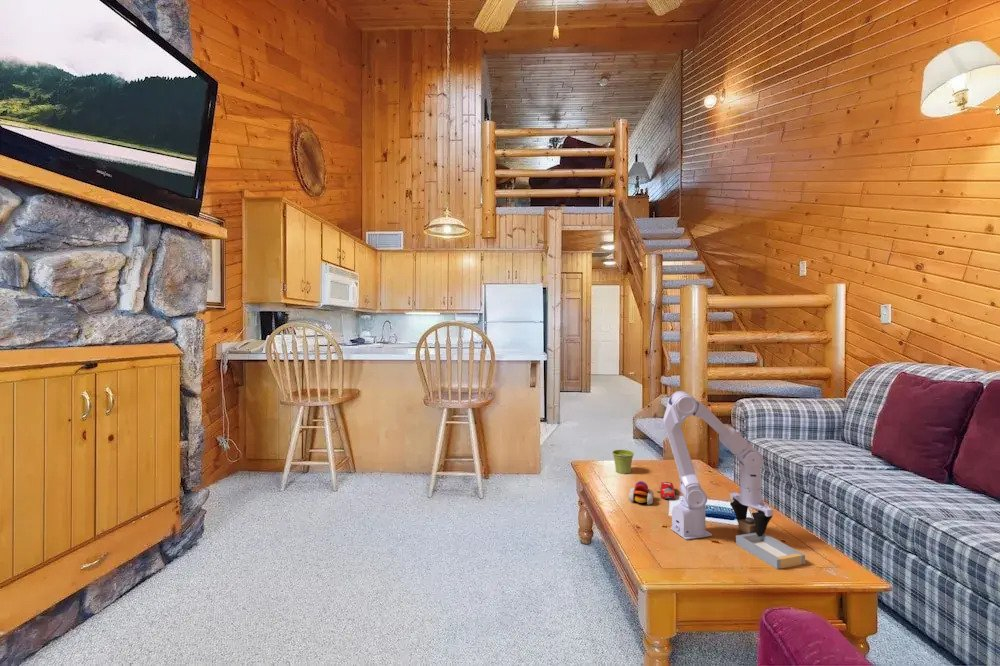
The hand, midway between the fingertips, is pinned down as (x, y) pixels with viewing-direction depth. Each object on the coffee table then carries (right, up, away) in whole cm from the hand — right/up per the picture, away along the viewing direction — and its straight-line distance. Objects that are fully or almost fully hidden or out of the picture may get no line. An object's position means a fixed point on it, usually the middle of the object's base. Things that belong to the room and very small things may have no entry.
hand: (751, 530), depth 138 cm
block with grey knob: (0, -2, 0) cm, 2 cm away
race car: (-13, -2, +35) cm, 38 cm away
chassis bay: (-1, -2, -10) cm, 10 cm away
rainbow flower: (-25, -2, +29) cm, 38 cm away
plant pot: (-22, -1, +62) cm, 66 cm away
